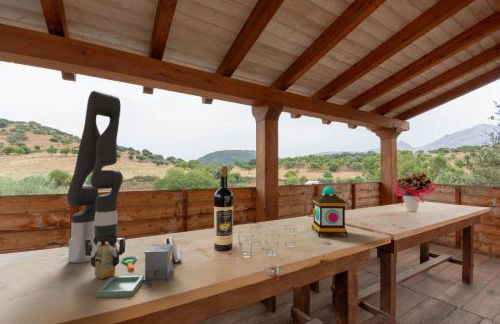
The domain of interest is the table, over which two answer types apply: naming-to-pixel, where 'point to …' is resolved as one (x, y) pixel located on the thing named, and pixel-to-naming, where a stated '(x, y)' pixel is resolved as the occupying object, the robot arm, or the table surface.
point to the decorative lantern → (329, 213)
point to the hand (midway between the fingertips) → (105, 265)
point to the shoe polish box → (104, 262)
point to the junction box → (158, 262)
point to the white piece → (174, 250)
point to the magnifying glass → (129, 262)
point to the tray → (120, 286)
